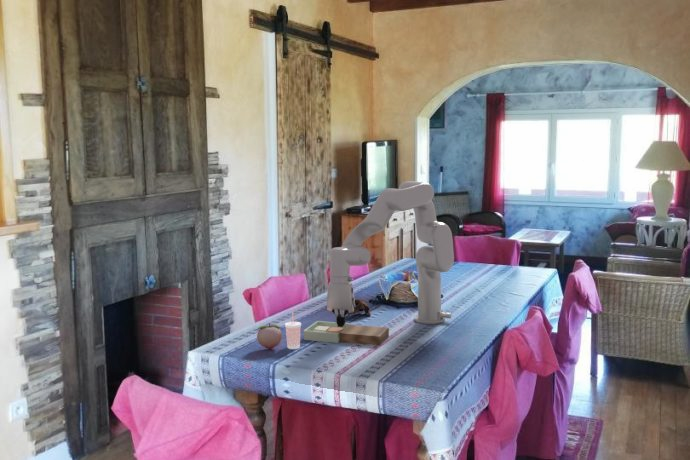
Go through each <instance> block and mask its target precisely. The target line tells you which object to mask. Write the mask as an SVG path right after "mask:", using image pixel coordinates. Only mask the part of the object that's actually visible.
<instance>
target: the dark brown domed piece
mask: <svg viewBox="0 0 690 460" xmlns="http://www.w3.org/2000/svg"><path fill="white" fill-rule="evenodd" d="M363 311H364V314H365V315H366V314H367V315H368V316H369V317H371V315H372V314H371V310H370V307H369V305H368V304H367V302H365V301H363V300H362V299H361V298H357V299H355V306H354V312H351V313H347V315H348V316H349V317H350V315H355V314H360V313H361V312H363Z"/></svg>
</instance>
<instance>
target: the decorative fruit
mask: <svg viewBox="0 0 690 460" xmlns="http://www.w3.org/2000/svg"><path fill="white" fill-rule="evenodd" d="M282 329H283V327H281V325H279V324H272V325H271V323H270V322H269V323H268V325H261V326H259V327H258V328H257V329H256V331H257V334H256V340H257V342H258V344H260V346H261V347H263V348H265V349H268V350H272V349H274V348H275V347H278V345H280V343H281V341H282V339H283V334H282V333H283V332H282Z"/></svg>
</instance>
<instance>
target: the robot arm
mask: <svg viewBox="0 0 690 460" xmlns="http://www.w3.org/2000/svg"><path fill="white" fill-rule="evenodd" d="M434 196H435V189H434V187H433V186H432V185H431V184H430V183H428V182H423V181H415V180H414V181H413V180H407V181H403V182H402V183H401V184H400V185H399V187H398V188H392V187H391V188H390V187H389V188H384V189H383V190H381V191H380V192H379V194H378V196H377V199H376V200H375V202H374V203H373V204H372V207H371V208H370V210H369V212H368V213H367V215H366V217H365V218H364V219H363V220H362V221H360V222H359V223H358V224H357V225H356V226H355V227H354V228H353V229H351V231H350V232H349V233H348V235H347V236H346V237H345V239H344V241H343V243H342V245H341V246H340V247H339V246H338V247H337V246H336V247H332V248H330V250H329V272H330V273H329V276H330V277H329V279H330V281H329V283H328V287H327V291H326V293H327V294H326V306H327V308H326V310H327V311H329V312H332V313H333V314H334V316H335V317H336V322H337V324H338V327H343V326H344V324H345V323H346V316H347V315H348V313H351V312H354V307H356V305H355V300H356V299H355V290H354V285H353V282H354V277H352V276H351V271H350V270H351V267H352V266H354V267H358V266H359V267H362V266H365V265H367V264H369V262H370V261H371V258H372V254H371V252H370V250H369V249H368V248H366V247H365V246H362V244H363V243H364V242H365V241H366V240H368V238H371V236H374V235H376V234H378V233H381V232H383V231H384V230H385V229H386V228H387V225H388V223H389V221H390V220H391V219H392V217H393V216H394V213H395V212H396V211H397V212H405V211H410V210H413V212H414V217H415V218H414V220H415V228H416V236H417V239H418V240H419V242H421V243H424V244H426V245H423V246H421V247H419V249H418V250H417V251H416V252H415V253H416V254H415V263H416V268H417V310H418V311H417V315H416V316H414V319H413V320H414V321H415V322H416V323H419V324H424V325H436V324H437V325H438V324H441V323H444V322H445V321H446V319H452V313H450V312H444V308H442V276H441V273H446V272H449V271H451V270H452V268H453V266H454V263H455V253H454V241H453V233H452V230H451V228H450V227H449V225H448V224H446V223H444V222H442V221H438V220H437V213H436V208H435V204H434V202H433V199H434ZM427 244H428V245H427ZM350 266H351V267H350Z"/></svg>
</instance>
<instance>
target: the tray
mask: <svg viewBox="0 0 690 460" xmlns="http://www.w3.org/2000/svg"><path fill="white" fill-rule="evenodd" d="M348 325H352V323H349V322H345V324H344V326H343V327H338V324H337V321H336V322H334V321H325V320H316V321H314V322H313V323H312V324H311V325H309V326H307V328H305V329H303V330H302V331H303V340H304V341H313V342H315V341H316V342H325V343H327V342H328V343H335V344H339V343H340V342H339V334H338V333H329V332H318V331H314V329H315V328H316V327H317V326H328V327H330V328H331V327H338V328H344V329H345V328H346V327H347V326H348Z"/></svg>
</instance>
